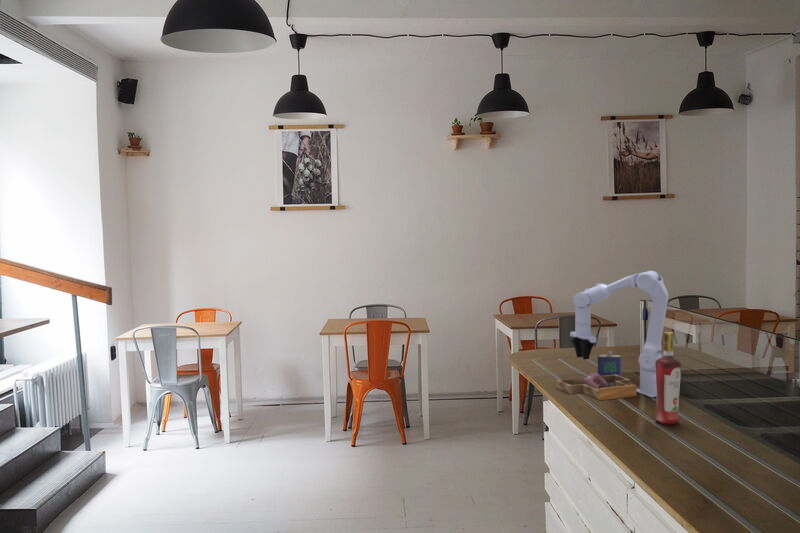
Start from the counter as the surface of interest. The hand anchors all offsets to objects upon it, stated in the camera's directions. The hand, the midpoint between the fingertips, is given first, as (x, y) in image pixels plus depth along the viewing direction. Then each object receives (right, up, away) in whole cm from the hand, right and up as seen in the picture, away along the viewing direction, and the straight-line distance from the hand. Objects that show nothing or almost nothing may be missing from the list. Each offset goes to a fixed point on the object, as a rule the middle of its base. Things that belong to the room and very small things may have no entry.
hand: (582, 358), depth 242 cm
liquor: (+12, -13, -48) cm, 51 cm away
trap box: (+4, -11, -11) cm, 16 cm away
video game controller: (+3, -11, -7) cm, 13 cm away
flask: (+13, -9, +9) cm, 19 cm away
